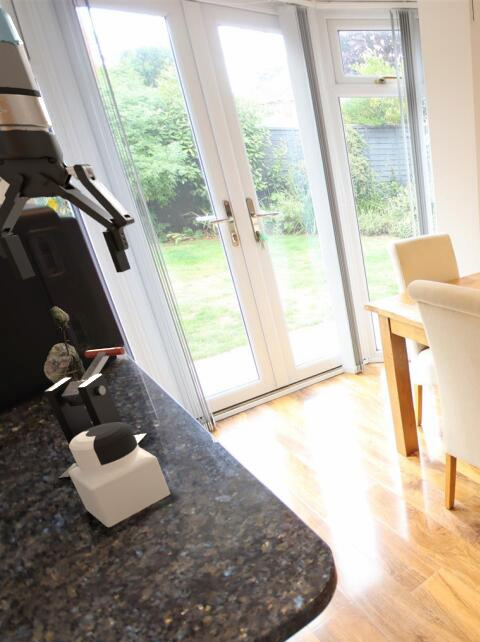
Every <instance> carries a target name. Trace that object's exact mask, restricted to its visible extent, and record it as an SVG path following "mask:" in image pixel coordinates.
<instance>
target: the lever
mask: <svg viewBox="0 0 480 642" xmlns="http://www.w3.org/2000/svg"><path fill="white" fill-rule="evenodd" d="M125 353H126V350H125V348H124V347H122V346H121V347H120V346H119V347H110V348H101V349H91V350H90V349H89V350H86V351H85V352H84V357H85V358H86V359H93V358H94V359H93V360H92V362H91V363H90V365H89V366H88V368H87V370H85V374H84V375H83V377H82V379H81V380H80V381H75V382H70V383H69V385H68V386H67V388H66V389H65V391H64V392H63V394H62V395H61V396H62V397H63V398H64V399H65V401H66V402H67V403H68V404H69V405H70V406H80V405H84V402H83V400H82V398H81V396H80V393H79V391H78V389H77V387H79V386H80V385H82V384H83V383H84V382H86V381H87V380H89V379H90V378H91V377H93V376H94V375H97V374H100V372H101V370H102V369H103V367H104V366H105V365H106V363H107V361H108V360H109V358H110V357H112V356H113V357H115V356H123V355H125Z"/></svg>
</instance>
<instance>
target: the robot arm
mask: <svg viewBox="0 0 480 642" xmlns="http://www.w3.org/2000/svg"><path fill="white" fill-rule="evenodd" d="M52 127H53V123H52V121H51V118H50V115H49V112H48V110H47V108H46V105H45V103H44V99H43V98H42V95H41V93H40V89H39V86H38V83H37V81H36V78H35V75H34V73H33V70H32V66H31V64H30V61H29V59H28V55H27V52H26V50H25V47H24V41H23V40H22V39H21V37H20V35H19V33H18V31H17V28H16V26H15V24H14V22H13V20H12V17H11V16H10V14H9V13H8V12H7V11H6V9H3V8H2V7H0V184H1V183H2V182H3V181H4V182H5V183H6V184H8V187H7V189H6V191H5V192H4V199H3V201H2V204H1V205H0V257H1V258H3V259H7V260H8V262H9V264H10V267H11V269H12V272H13V273H14V276H15V278H16V280H17V281H23V280H26V279H30V278H32V277H36V274H35V271H34V269H33V267H32V264H31V262H30V260H29V257H28V255H27V253H26V250H25V248H24V246H23V243H22V242H21V239H20V237H19V235H18V234H16V235H13V234H14V232H12V231H13V229H14V227H15V225H16V223H17V221H18V220H19V217H20V216H21V215H22V212H23V210H24V208H25V206H26V205H27V203H28V201H30V200H31V199H39V198H58V197H60V198H61V199H63V200H66V201H68V202H69V203H71V204H72V205H73V206H75V207H76V208H77V209H79V210H80V211H82V213H84V214H86V215H87V216H89V217H90V218H92V219H93V220H94V221H95V222H97V223H98V224H100V225H101V226H102V227H104V228H105V230H104V231H102V235H103V238H104V241H105V244H106V246H107V249H108V252H109V255H110V258H111V261H112V263H113V267H114V268H115V272H116V273H124V272H127V271H129V270H131V269H132V268H131V265H130V262H129V259H128V257H127V254H126V251H127V250H129V247H130V246H129V241H128V239H127V236H126V234H125V227H128V226H130V225H132V224H134V223H135V218H134V217H133V216H132V215H131V214H130V212H128V211H127V209H126V208H125V207H124V206H123V205H122V204H121V203H120V201H118V199H117V198H116V197H115V196H114V195H113V194H112V193H111V192H110V191H109V189H108V188H106V186H104V184H103V183H102V182H101V180H99V178H98V176H97V174H96V172H95V170H94V168H93V166H91V164H88V163H76V164H74V165H73V166H68V165H67V164H66V162H65V160H64V153H63V151H62V148H61V146H60V142H59V140H58V138H57V135H56V134H54V132H52V131H49V129H52ZM72 177H73V178H74V179H76V180H77V181H79V182H80V183H81V185H82V186H83V187H84V188H85V189H86V190H87V192H88V193H90V195H91V196H92V197H93V198H94V199H95V200H96V201H97V202H98V203H99V204H100V205H101V206H100V205H99V204H97V203H96V202H95V201H93V200H92V199H91V198H89V197H88V196H86V195H85V194H84V193H83V192H82V191H81V189H79V188H78V187H76V186H75V185H74V184H73V183H71V182H70V181H71V179H72Z"/></svg>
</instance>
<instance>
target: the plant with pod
mask: <svg viewBox="0 0 480 642" xmlns="http://www.w3.org/2000/svg"><path fill="white" fill-rule="evenodd" d="M49 311H50V315H51V317H52V319H53V322H54V325H55V326H56V327H58V328H61V332H62V335H63V339H64V342H61V343H57V344H54V345H53V346H52V347H51V349H50V351H49V352H48V355H47V357H46V361H45V362H44V367H43V372H44V374H45V376H46V377H47V379H48V380H49V381H50V382H52V384H54V385H55V384H56V383H58V382H59V381H61V380H62V379H64V378H71V377H72V379H73V381H74V382H75V381H80V380H81V379H82V377H83V375H84V374H85V372H86V369H85V368H84V365H83V361H82V359H81V358H80V355H79V353H78V351H77V350H76V349H75V347H74V346H73V345H71V344H69V343H68V342H70V341H71V340H70V339H67V336H66V331H65V330H66V329H70V326H69V325H68V323H69V321H70V317H69V314H68V313H66V311H63V309H61V308H59V307H58V306H53V307H52V308H51V309H49ZM64 326H66V329H64ZM84 406H85V405H84ZM85 409H86V407H85Z"/></svg>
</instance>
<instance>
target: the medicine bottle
mask: <svg viewBox="0 0 480 642" xmlns="http://www.w3.org/2000/svg"><path fill="white" fill-rule="evenodd" d="M134 435H135V433H134V431H133V428H132V426H131V425H130V424H128V423H126V422H123V421H122V422H113V423H106V424H101V425H98V426H95V427H94V426H93V427H92V428H89V429H87V430H85V431H83V432H82V433H80V434H79V435H77V436H76V437H74V438H73V439H72V441H71V442H70V444H68V448H69V450H70V452H71V454H72V457H73V459H74V461H75V462H76V463H77V465H78V467H76V468H74V469H71V470H70V471H69V475H70V477H71V478H70V479H71V481H72V483H73V485H74V487H75V490H76V491H77V493H78V496H79V498H80V500H81V502H82V504H83V506H84V508H85V510H86V511H87V512H88V513H90V514H91V515H92V516H93V517H94V518H95V519H97V520H98V521H99V522H101V524H103V525H104V526H105V527H107V528H111V527H113V526H115V525H117V524H118V523H121V522H123V521H124V520H126V519H128V518H130V517H131V516H133V515H135V514H137V513H139V512H140V511H142V510H144V509H146V508H148V507H150V506H152V505H154V504H156V503H157V502H159V501H161V500H162V499H165V498H166V497H168V496H170V495H171V491H170V488H169V486H168V483H167V481H166V478H165V476H164V473H163V470H162V469H161V466H160V463H159V460H158V458H157V456H155V455H154V454H152V453H151V452H148V451H147V450H145V449H144V448H142V447H140V446H139V444H138V443H137V441H136V438H135V436H134Z"/></svg>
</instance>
